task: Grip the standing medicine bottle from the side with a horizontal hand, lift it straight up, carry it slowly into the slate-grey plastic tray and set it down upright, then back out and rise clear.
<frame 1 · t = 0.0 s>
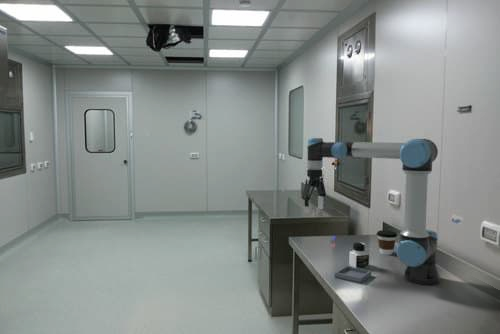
hand: (314, 210, 206), 28 cm above the table, tool pointing down, fingers open, 13 cm apart
medicine bottle: (358, 266, 206), on the table
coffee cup: (386, 253, 229), on the table
tray: (353, 276, 191), on the table
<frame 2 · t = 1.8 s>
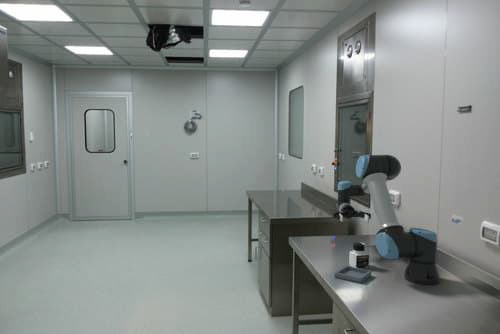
hand: (355, 219, 213), 22 cm above the table, tool horizontal, fingers open, 13 cm apart
nothing on the table moved.
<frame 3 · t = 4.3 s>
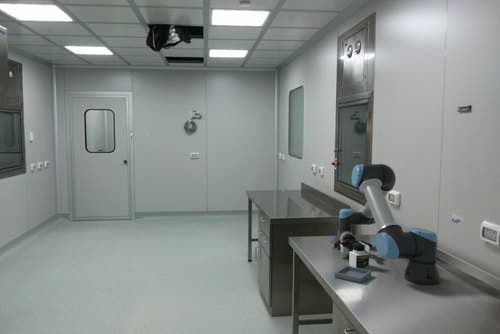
hand: (356, 250, 212), 6 cm above the table, tool horizontal, fingers open, 13 cm apart
nothing on the table moved.
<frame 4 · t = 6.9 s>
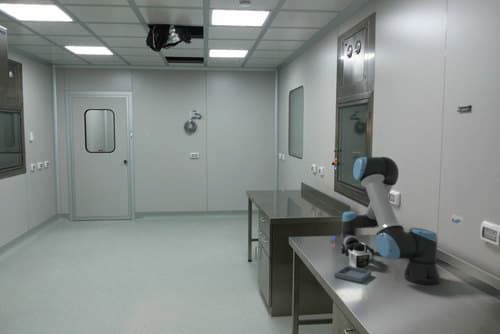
hand: (361, 256, 201), 7 cm above the table, tool horizontal, fingers closed on medicine bottle, 9 cm apart
medicine bottle: (358, 266, 206), on the table, touching gripper
everything else where it was.
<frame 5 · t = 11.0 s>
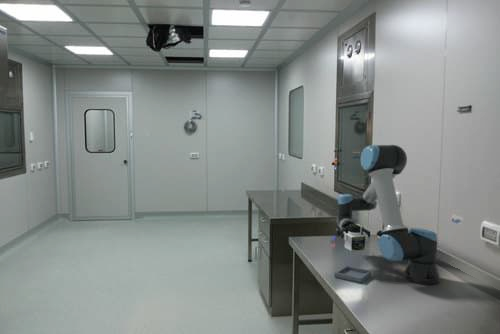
hand: (356, 237, 192), 18 cm above the table, tool horizontal, fingers closed on medicine bottle, 9 cm apart
medicine bottle: (354, 249, 197), point 11 cm above the table, touching gripper
everything else where it was.
when the fingers open (9 cm above the table, at t = 15.3 s): medicine bottle drops 1 cm, resting on tray.
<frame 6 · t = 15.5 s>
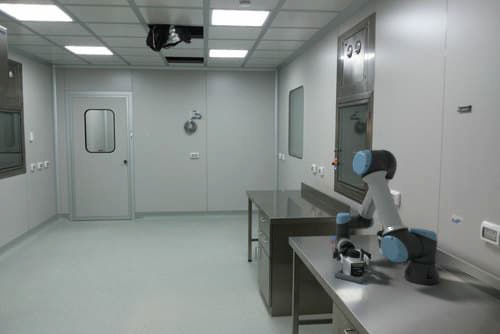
hand: (355, 261, 186), 9 cm above the table, tool horizontal, fingers open, 11 cm apart
medicine bottle: (353, 275, 191), point 1 cm above the table, touching tray
everything else where it was.
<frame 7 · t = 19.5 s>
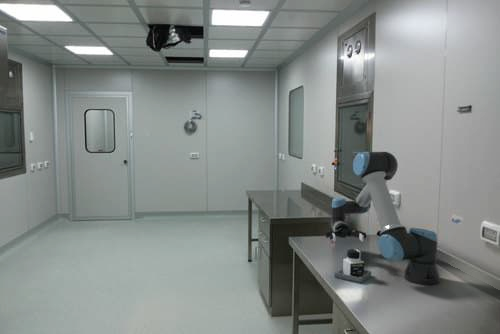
hand: (348, 239, 200), 15 cm above the table, tool horizontal, fingers open, 13 cm apart
nothing on the table moved.
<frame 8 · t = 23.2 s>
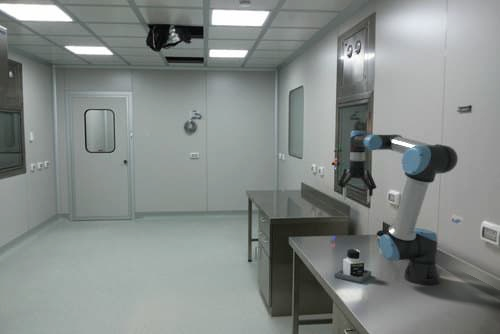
hand: (356, 200, 214), 32 cm above the table, tool pointing down, fingers open, 13 cm apart
nothing on the table moved.
at the end: medicine bottle inside the target area on the tray (0.1 cm from its centre), point 0.6 cm above the tray's base; medicine bottle tilted 0°; the gripper is holding nothing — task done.
